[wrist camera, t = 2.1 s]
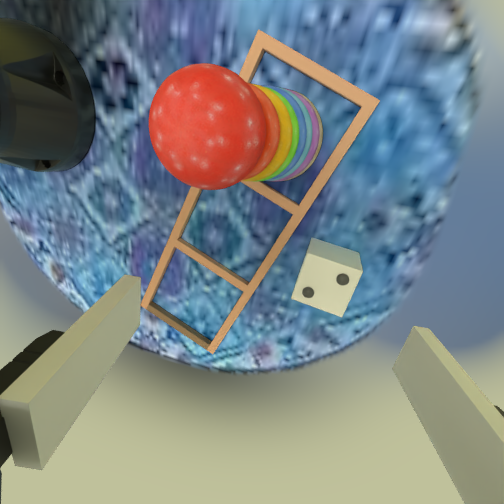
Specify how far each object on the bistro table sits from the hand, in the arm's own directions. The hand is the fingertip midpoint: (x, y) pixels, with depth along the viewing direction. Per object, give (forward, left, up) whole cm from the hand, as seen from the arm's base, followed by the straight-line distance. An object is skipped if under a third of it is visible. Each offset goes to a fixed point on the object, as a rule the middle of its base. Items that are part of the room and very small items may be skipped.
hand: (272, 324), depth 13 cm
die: (+4, -2, -18) cm, 18 cm away
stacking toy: (-7, +6, -18) cm, 20 cm away
